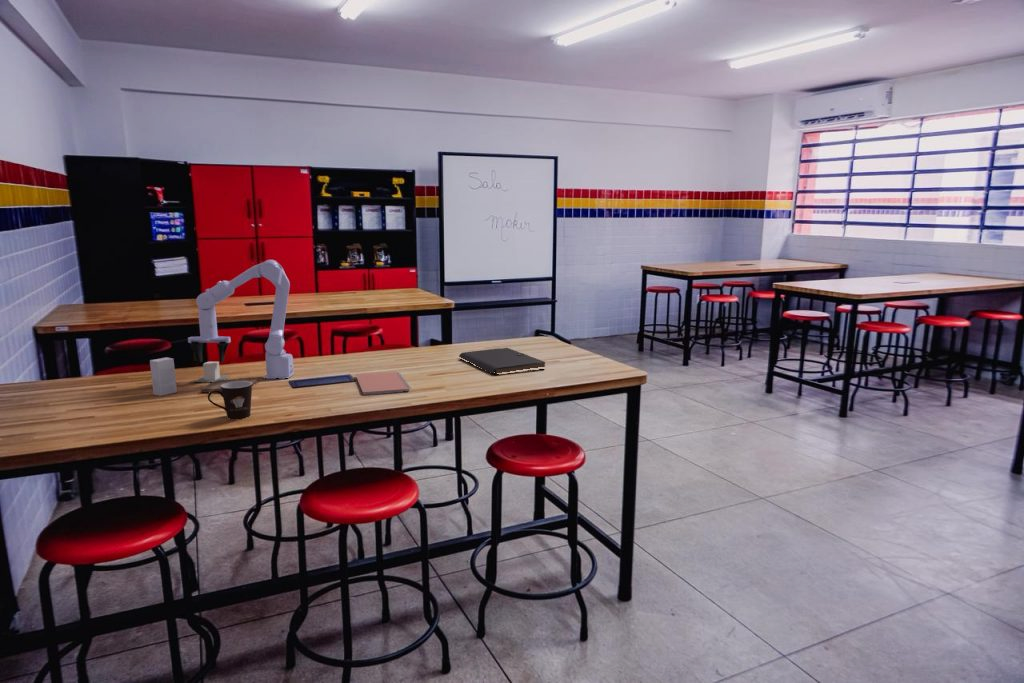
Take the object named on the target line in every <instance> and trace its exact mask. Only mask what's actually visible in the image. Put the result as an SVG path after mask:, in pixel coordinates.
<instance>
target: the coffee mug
mask: <svg viewBox="0 0 1024 683" xmlns="http://www.w3.org/2000/svg"><path fill="white" fill-rule="evenodd" d="M221 389H222V392H220V391H216V390H215V391H212V392H210V393H207V399H208V401H209V403H211V404H212V405H213V406H216V407H218V408H221V409H223V410H224V411H225V413H226V417H228V418H230V419H229V420H231V419H239V420H243V419H242V418H245V419H247V418H246V417H248V418H249V416H251V409H252V408H251V407H252V395H253V394H252V390H253V386H252V382H249V381H234V382H228V383H224V384H222V385H221ZM215 392H216V393H215ZM212 394H219V395H220V396H221V397H222V398H223V402H224V406H222V405H220V404H217V403H215V402H213V400H211V395H212ZM228 418H227V419H228Z"/></svg>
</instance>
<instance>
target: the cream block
mask: <svg viewBox="0 0 1024 683" xmlns="http://www.w3.org/2000/svg"><path fill="white" fill-rule="evenodd" d="M202 367H203V377H204V380H216V379H218V378H220V376H221V374H220V372H221V371H220V370H221V369H220V361H207V362H206V361H205V362H204V363H203V364H202Z"/></svg>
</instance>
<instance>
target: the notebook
mask: <svg viewBox="0 0 1024 683" xmlns="http://www.w3.org/2000/svg"><path fill="white" fill-rule="evenodd" d="M355 378H356V380H357V381H358V382H357V383H358V384H359V387H360V388H361V391H362V394H363V395H364V396H368V395H381V394H383V393H384V394H393V393H394V392H397V393H404V392H403V391H408V392H410V389H411V390H412V388H411V386H410V385H409V384H408V382H407V381H406V379H405V378H404V376H403V375H402V374H401V373H400V372H399V371H396V370H395V371H384V372H383V371H382V372H370V373H369V372H368V373H367V372H366V373H356V374H355ZM408 387H409V388H410V389H409V388H408ZM384 394H383V395H384Z"/></svg>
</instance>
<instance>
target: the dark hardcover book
mask: <svg viewBox="0 0 1024 683" xmlns="http://www.w3.org/2000/svg"><path fill="white" fill-rule="evenodd" d="M459 357H461V358H463V359H465V360H467V361H469V362H471V363H473V364H475V365H476V366H478V367H480V368H482V369H484V370H486V371H488V372H491V373H493V374H494V372H495V373H496V374H497V373H502V372H510V371H516V370H523V369H530V368H538V367H545V368H546V361H544V360H541V359H538V358H536V357H533V356H530V355H528V354H526V353H522V352H520V351H517V350H514V349H512V348H509V347H503V348H490V349H482V350H474V351H473V350H471V351H463V352H461V353H460V354H459V356H458V358H459ZM478 367H477V368H478ZM480 368H479V369H480ZM482 369H481V370H482ZM484 370H483V371H484ZM486 371H485V372H486ZM488 372H487V373H488ZM496 374H494V375H496Z"/></svg>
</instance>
